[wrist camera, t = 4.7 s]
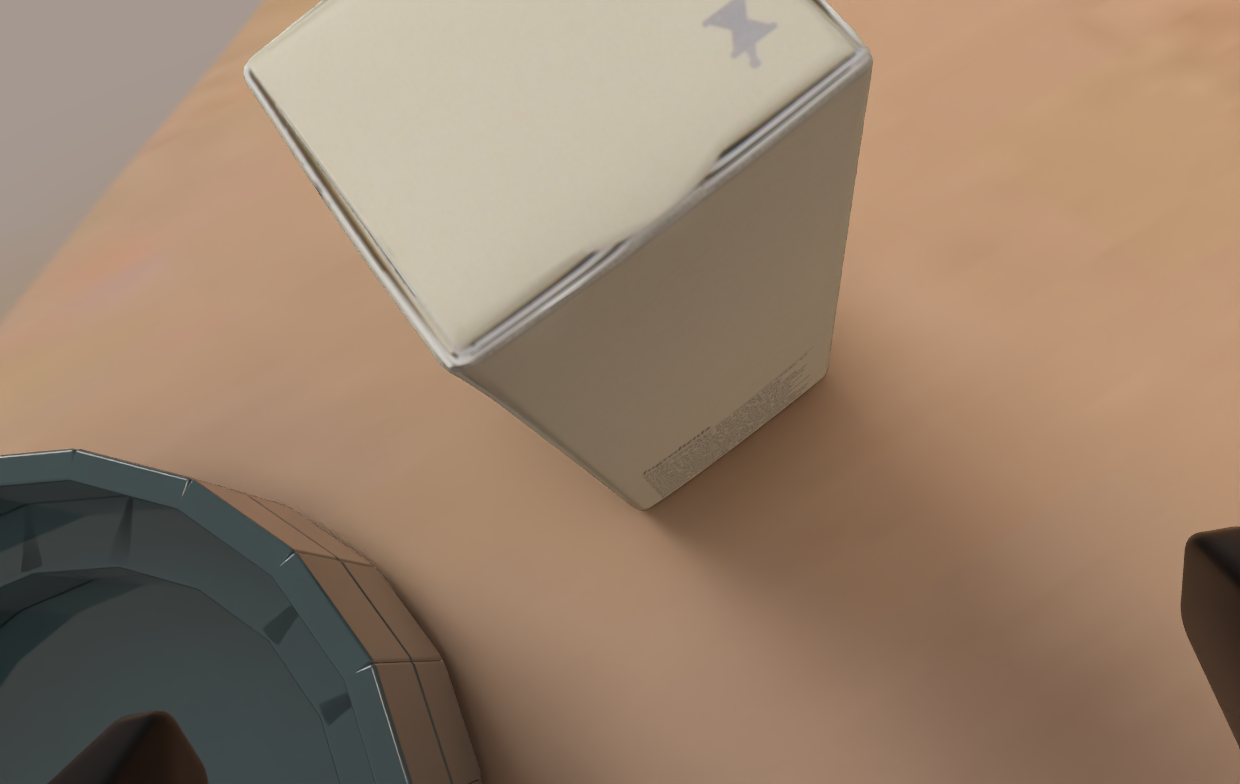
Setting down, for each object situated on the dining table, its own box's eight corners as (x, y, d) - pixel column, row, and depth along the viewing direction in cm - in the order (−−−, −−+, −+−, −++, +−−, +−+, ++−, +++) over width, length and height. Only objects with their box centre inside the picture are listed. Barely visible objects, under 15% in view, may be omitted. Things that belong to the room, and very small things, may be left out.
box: (706, 227, 23) (628, -254, 11) (834, 380, 22) (913, 34, 10) (513, 372, 23) (211, 51, 11) (632, 532, 22) (447, 381, 9)
